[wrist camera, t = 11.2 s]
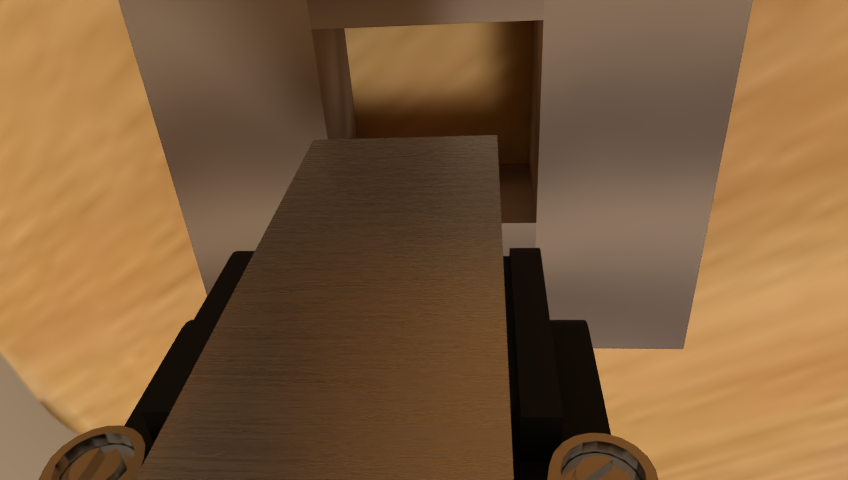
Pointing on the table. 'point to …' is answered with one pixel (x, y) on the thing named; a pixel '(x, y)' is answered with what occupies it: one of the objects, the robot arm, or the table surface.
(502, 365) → the square bit
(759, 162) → the table surface
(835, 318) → the table surface
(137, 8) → the bore block
